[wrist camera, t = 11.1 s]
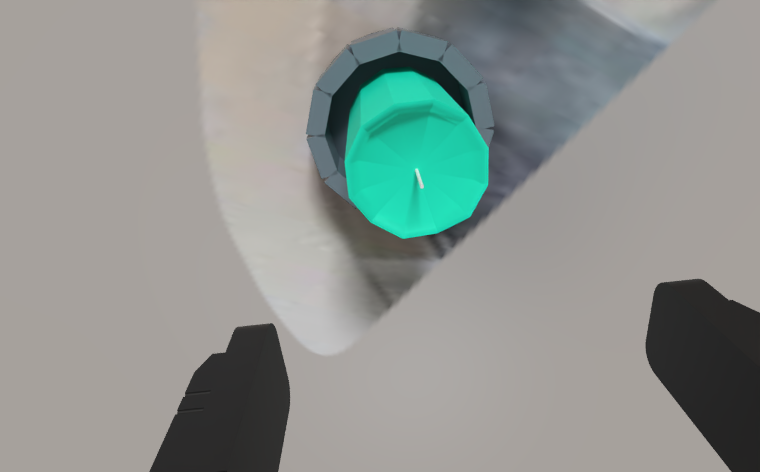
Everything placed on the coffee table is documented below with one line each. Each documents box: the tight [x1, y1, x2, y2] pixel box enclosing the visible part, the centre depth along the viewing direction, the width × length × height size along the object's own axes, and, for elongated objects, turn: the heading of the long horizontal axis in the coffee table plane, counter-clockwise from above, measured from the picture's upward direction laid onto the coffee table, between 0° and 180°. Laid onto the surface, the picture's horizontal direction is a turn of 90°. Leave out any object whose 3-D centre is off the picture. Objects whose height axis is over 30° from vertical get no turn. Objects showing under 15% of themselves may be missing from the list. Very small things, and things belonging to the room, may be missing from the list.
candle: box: [344, 67, 489, 239], centre depth 24 cm, size 6×6×12 cm
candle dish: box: [306, 27, 495, 209], centre depth 28 cm, size 10×10×4 cm
